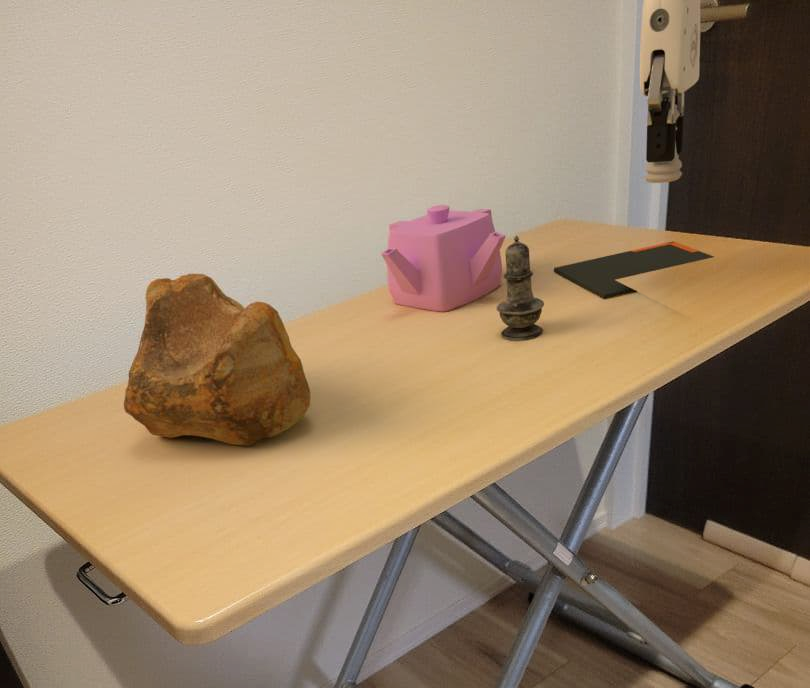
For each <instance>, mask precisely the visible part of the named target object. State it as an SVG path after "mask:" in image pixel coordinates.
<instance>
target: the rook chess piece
mask: <svg viewBox="0 0 810 688" xmlns="http://www.w3.org/2000/svg"><path fill="white" fill-rule="evenodd" d="M667 109H668V107H667ZM679 115H680V113H679V112H678V110H677V105H676V104H675V105H674V119H673V123H676V120H677V118H678V117H680V116H679ZM676 130H677V127H676ZM679 157H680V156H679V154H677V151H676V141H675V157H674V159H673V160H672V161H666V162H647V164H646V165H645V168H644V169H645V171H646V172H647V173H646V174H645V175H644V179H645V180H646V182H648V183H651V184H663V183H670V182H674V181H677V180H679V179H680V178H681V177H682V175H683V172H682V171H681V170H680V169H681V168H682V167H683V163H682V160H680V159H679Z"/></svg>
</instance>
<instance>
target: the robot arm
mask: <svg viewBox="0 0 810 688" xmlns="http://www.w3.org/2000/svg"><path fill="white" fill-rule="evenodd" d="M640 26H641V28H640V45H639V46H640V47H639V89H640V93H641V94H642V95H643V96H644V97H647V117H646V118H647V119H646V121H647V125H646V152H645V153H646V154H645V156H646V157H645V160H646V162H647V163H649V162H666V161H672V160H673V159H674V157H675V141H676V151H677V155H679V154H680V153H682V152H683V145H684V144H683V143H684V125H685V116H684V113H685V92H687V90H689V89H690V88H692V87H693V86H694V85H695V84H696V83H697V82H698V81H699V79H700V62H701V61H700V60H701V59H700V57H701V0H642V13H641V25H640ZM675 104H676V105H677V110H678V112H679V113H680V115H679V117H678V118H677V120H676V123H673V119H674V105H675ZM667 107H668V109H667ZM676 127H677V130H676Z"/></svg>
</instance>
